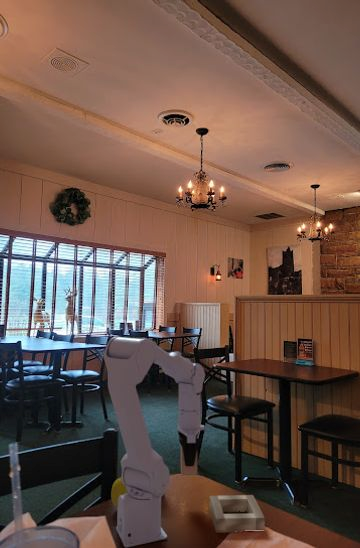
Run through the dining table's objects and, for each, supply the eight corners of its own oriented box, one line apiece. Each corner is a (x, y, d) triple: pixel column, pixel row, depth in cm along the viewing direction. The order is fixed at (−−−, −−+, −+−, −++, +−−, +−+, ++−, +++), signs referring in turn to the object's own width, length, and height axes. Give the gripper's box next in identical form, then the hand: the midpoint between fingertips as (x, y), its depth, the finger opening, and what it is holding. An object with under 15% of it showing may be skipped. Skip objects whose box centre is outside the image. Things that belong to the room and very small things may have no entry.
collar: (216, 532, 92) (216, 518, 92) (209, 508, 103) (209, 495, 103) (264, 531, 92) (264, 517, 93) (253, 507, 103) (253, 495, 104)
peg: (197, 475, 105) (197, 443, 105) (181, 475, 104) (181, 443, 105) (195, 468, 109) (195, 437, 109) (180, 469, 108) (180, 438, 109)
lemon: (129, 516, 98) (129, 482, 99) (107, 514, 99) (108, 480, 100) (136, 505, 104) (136, 473, 104) (115, 503, 105) (116, 471, 105)
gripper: (207, 416, 101) (207, 473, 100) (201, 402, 115) (201, 452, 114) (179, 416, 100) (178, 474, 99) (176, 402, 115) (175, 452, 114)
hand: (188, 462), depth 107 cm, fingers closed on peg, 4 cm apart
